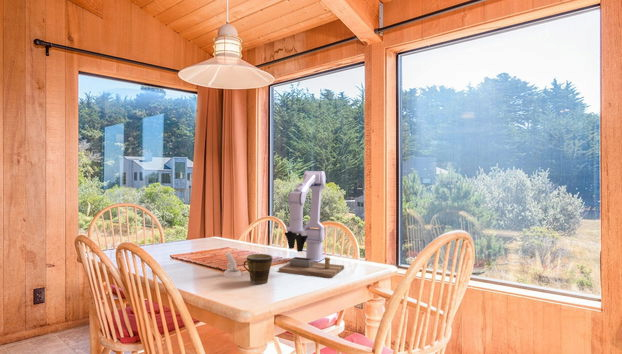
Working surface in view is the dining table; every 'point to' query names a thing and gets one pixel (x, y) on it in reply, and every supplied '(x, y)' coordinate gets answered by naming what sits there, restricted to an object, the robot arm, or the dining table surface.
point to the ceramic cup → (258, 267)
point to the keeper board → (315, 269)
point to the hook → (231, 267)
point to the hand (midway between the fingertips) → (295, 249)
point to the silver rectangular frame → (301, 262)
